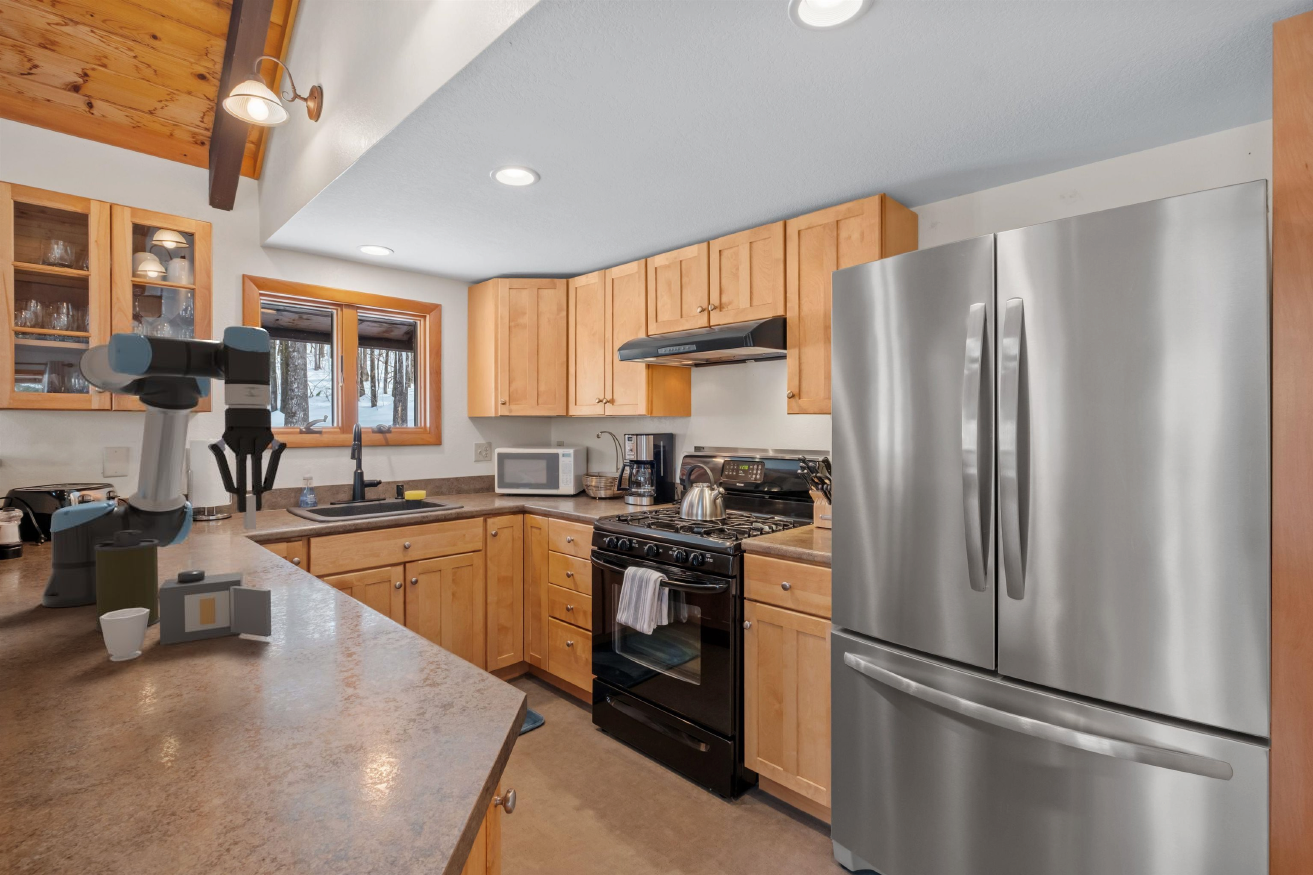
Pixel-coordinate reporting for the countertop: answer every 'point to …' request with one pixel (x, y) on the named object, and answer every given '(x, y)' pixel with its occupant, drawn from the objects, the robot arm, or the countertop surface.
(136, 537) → the canister
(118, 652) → the cup
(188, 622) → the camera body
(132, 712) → the countertop surface
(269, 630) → the door
